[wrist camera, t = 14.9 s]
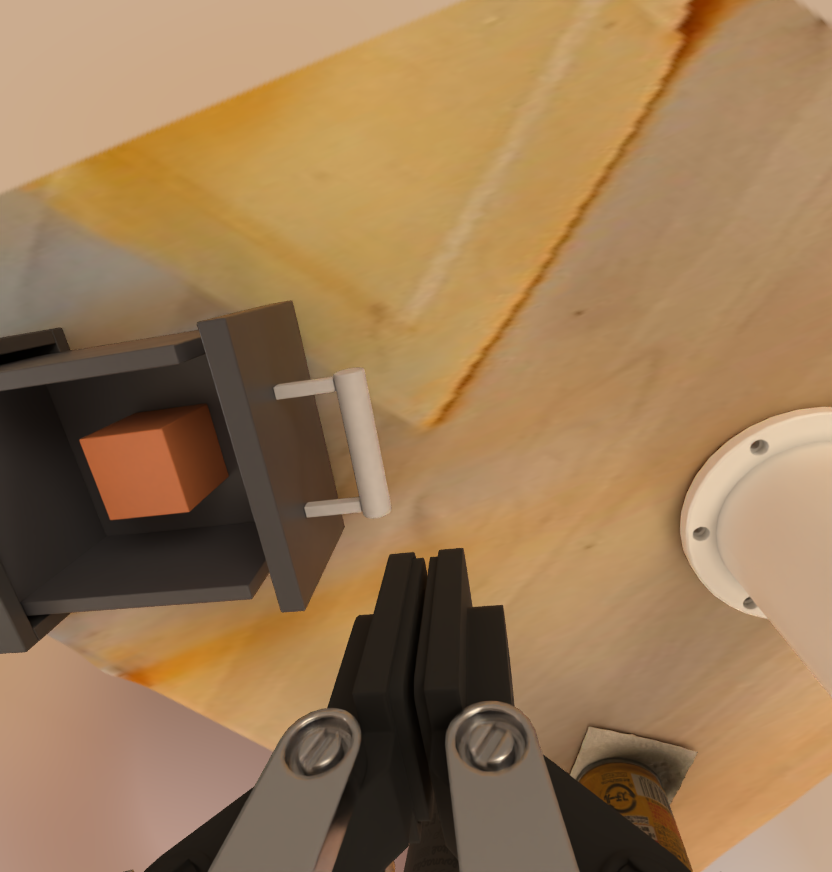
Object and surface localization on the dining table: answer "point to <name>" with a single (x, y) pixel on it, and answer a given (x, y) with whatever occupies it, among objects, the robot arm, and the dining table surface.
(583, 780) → the condiment
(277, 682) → the dining table surface
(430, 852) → the drinking cup
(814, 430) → the robot arm
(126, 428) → the block
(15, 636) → the cabinet
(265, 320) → the drawer
